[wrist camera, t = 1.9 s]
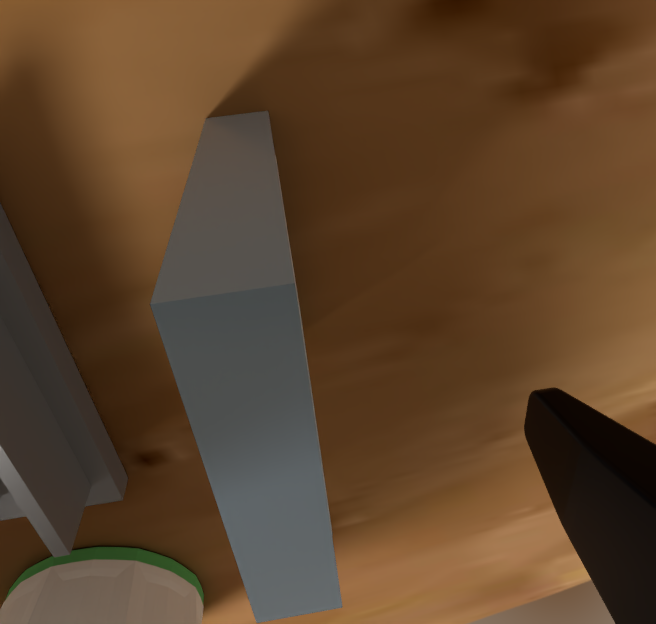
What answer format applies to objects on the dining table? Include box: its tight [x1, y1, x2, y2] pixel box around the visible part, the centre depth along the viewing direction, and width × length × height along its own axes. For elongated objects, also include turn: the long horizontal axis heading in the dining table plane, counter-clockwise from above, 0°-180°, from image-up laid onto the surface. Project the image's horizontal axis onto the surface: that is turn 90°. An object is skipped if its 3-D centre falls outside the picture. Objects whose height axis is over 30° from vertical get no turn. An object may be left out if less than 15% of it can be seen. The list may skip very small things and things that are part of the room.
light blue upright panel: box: [150, 111, 342, 623], centre depth 11 cm, size 7×2×9 cm, turn 5°
